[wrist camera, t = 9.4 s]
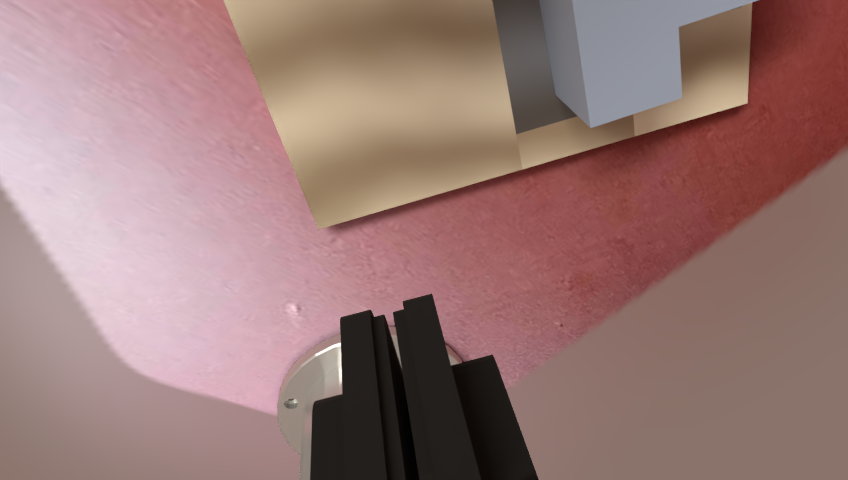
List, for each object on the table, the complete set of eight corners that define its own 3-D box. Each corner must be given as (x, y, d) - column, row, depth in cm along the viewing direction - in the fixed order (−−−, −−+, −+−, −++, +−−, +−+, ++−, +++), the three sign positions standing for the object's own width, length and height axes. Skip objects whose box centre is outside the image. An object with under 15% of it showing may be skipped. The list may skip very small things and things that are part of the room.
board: (734, 95, 32) (747, 103, 30) (318, 218, 32) (318, 229, 31) (747, -293, 23) (767, -301, 22) (180, -121, 23) (173, -121, 22)
